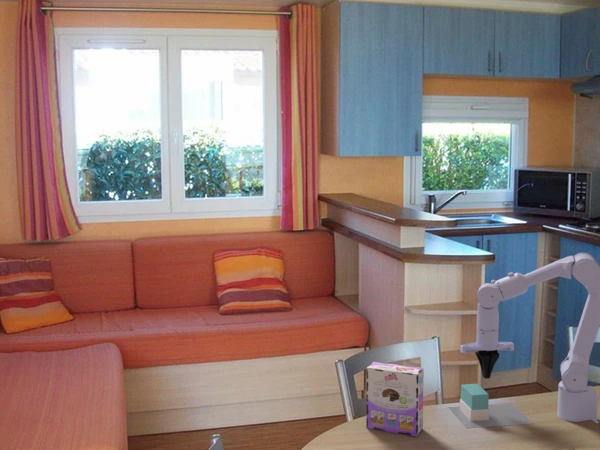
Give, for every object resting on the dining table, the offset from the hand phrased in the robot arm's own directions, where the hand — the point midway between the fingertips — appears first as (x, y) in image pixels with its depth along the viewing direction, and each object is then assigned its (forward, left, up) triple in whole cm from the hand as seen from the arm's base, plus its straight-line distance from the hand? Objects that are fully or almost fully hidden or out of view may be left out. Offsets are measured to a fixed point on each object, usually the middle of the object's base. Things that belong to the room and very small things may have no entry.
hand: (486, 377), depth 200 cm
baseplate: (+1, +5, -10) cm, 11 cm away
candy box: (+28, +7, -10) cm, 30 cm away
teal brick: (+5, +4, -6) cm, 9 cm away
